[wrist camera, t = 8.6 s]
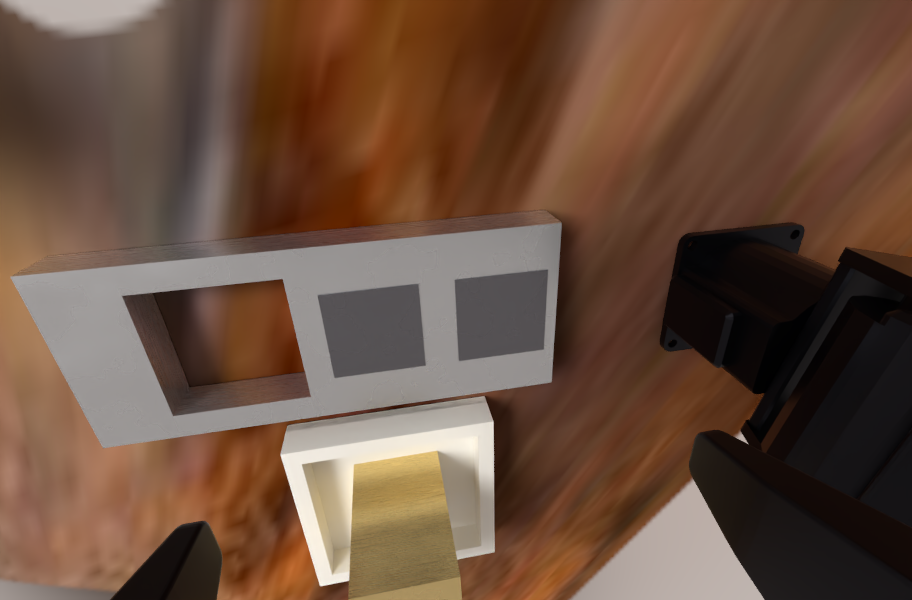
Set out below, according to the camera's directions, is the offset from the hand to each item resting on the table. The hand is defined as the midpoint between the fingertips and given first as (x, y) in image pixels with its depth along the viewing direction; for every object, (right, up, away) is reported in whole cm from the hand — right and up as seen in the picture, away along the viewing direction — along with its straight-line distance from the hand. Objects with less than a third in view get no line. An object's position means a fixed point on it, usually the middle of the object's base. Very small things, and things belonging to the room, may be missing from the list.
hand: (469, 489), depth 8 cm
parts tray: (-4, -7, +17) cm, 19 cm away
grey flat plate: (-6, +3, +12) cm, 14 cm away
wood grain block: (-3, -7, +17) cm, 19 cm away
